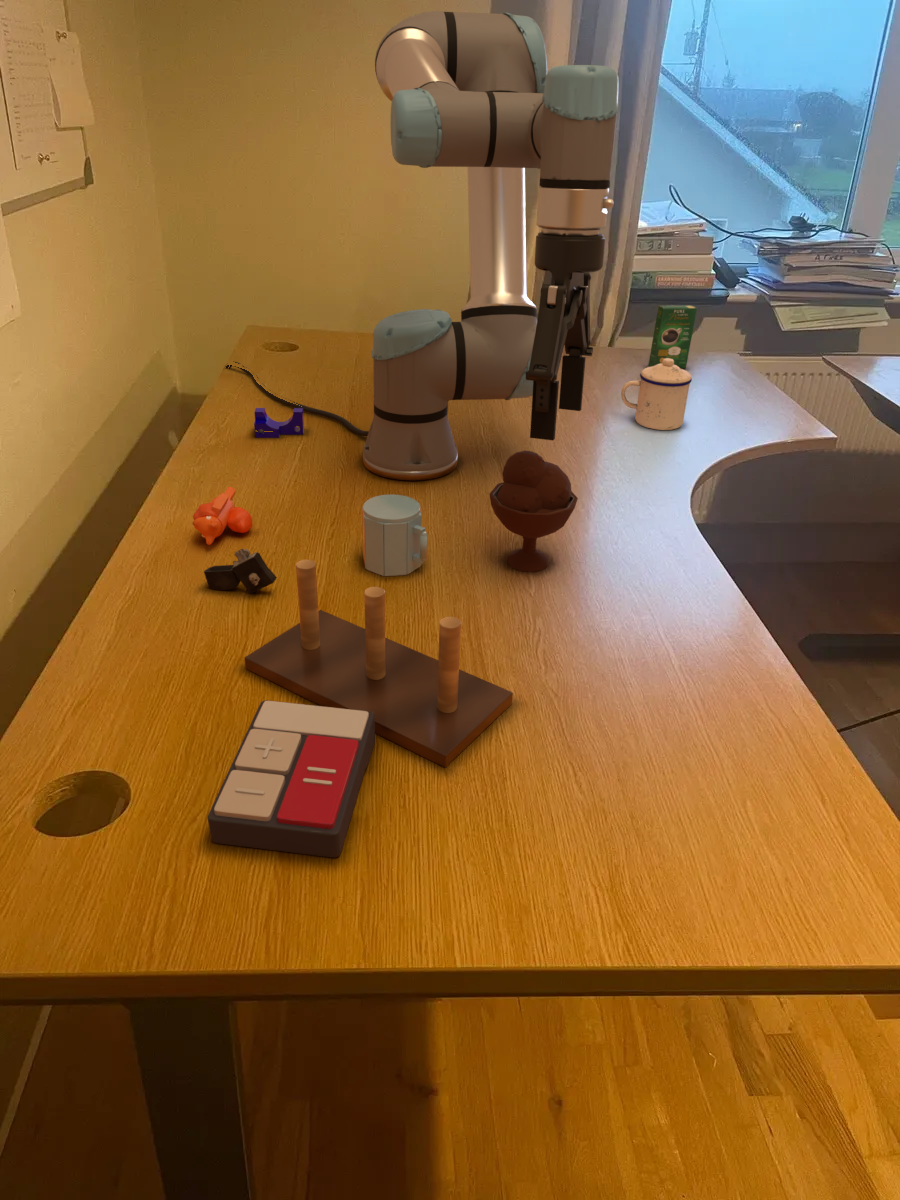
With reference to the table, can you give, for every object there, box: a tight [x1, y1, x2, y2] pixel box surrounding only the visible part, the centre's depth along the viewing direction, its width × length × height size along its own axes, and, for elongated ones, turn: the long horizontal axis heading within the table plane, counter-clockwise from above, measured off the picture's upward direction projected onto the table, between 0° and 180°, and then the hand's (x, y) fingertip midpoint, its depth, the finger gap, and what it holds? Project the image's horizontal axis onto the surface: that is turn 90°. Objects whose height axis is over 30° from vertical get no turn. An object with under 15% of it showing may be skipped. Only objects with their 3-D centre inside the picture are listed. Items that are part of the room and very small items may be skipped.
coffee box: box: [648, 304, 698, 369], centre depth 189 cm, size 8×3×13 cm, turn 103°
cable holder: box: [253, 407, 305, 439], centre depth 152 cm, size 8×4×4 cm, turn 94°
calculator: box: [207, 700, 376, 859], centre depth 79 cm, size 11×4×15 cm
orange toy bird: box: [192, 486, 253, 546], centre depth 120 cm, size 5×8×12 cm
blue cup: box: [361, 493, 428, 577], centre depth 113 cm, size 9×7×8 cm
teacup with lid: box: [620, 358, 693, 431], centre depth 160 cm, size 12×9×12 cm
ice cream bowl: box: [488, 450, 579, 573], centre depth 113 cm, size 11×11×15 cm
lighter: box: [203, 548, 278, 595], centre depth 107 cm, size 8×2×5 cm
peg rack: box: [244, 559, 514, 768], centre depth 90 cm, size 26×12×12 cm, turn 55°
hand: (556, 423), depth 106 cm, fingers open, 13 cm apart
